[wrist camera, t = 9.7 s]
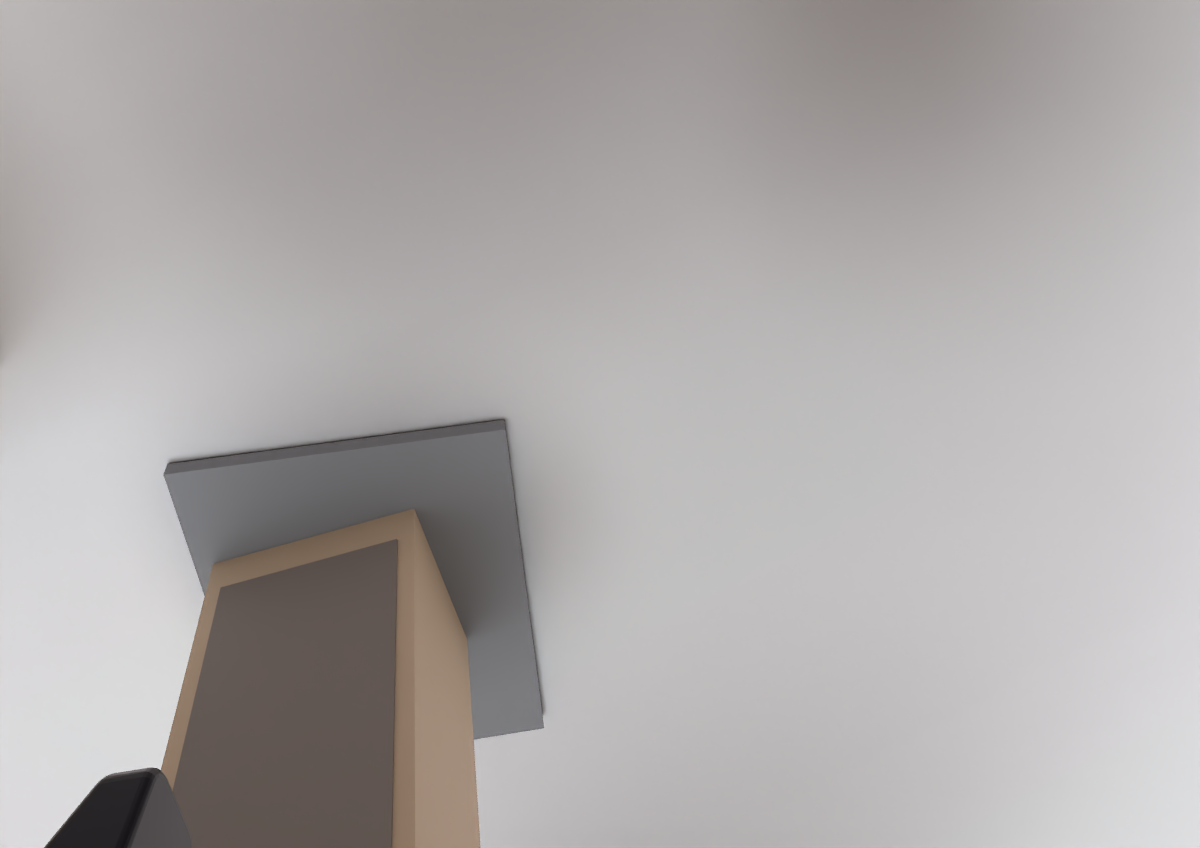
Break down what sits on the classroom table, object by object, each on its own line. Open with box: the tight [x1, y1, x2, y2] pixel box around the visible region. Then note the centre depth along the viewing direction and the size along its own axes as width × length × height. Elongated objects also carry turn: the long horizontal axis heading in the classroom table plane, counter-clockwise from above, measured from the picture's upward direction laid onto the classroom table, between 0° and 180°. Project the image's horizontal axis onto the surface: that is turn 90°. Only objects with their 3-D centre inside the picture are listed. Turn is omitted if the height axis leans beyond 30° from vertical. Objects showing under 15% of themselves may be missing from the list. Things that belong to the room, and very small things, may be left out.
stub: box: [161, 509, 480, 848], centre depth 19 cm, size 4×5×12 cm
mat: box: [164, 420, 544, 739], centre depth 25 cm, size 9×7×1 cm
